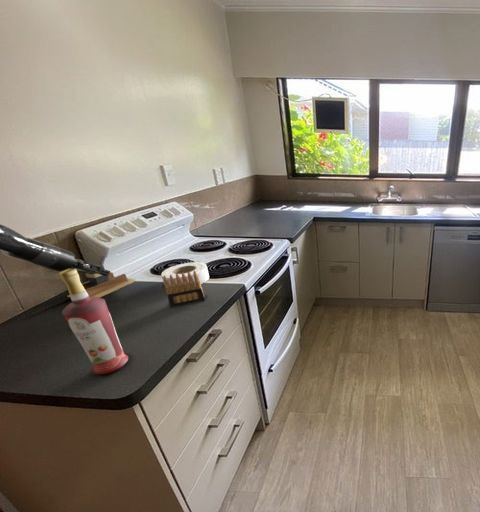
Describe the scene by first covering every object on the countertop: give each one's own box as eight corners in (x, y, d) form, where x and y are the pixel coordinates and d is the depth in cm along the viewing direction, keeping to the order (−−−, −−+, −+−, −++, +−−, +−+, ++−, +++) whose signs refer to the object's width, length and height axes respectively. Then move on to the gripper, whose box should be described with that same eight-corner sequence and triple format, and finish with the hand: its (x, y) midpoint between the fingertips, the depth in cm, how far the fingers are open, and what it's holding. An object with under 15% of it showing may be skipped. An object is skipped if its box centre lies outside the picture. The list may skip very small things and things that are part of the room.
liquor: (137, 356, 79) (98, 263, 68) (119, 376, 72) (72, 277, 61) (107, 359, 78) (62, 265, 67) (86, 380, 71) (32, 279, 60)
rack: (67, 298, 107) (63, 289, 105) (113, 279, 121) (109, 270, 120) (90, 301, 105) (86, 292, 103) (134, 281, 119) (131, 273, 118)
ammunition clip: (205, 298, 107) (197, 269, 103) (205, 300, 106) (197, 271, 101) (171, 305, 103) (161, 275, 98) (170, 307, 101) (160, 277, 97)
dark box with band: (92, 289, 111) (82, 268, 108) (103, 284, 115) (95, 264, 111) (100, 290, 110) (91, 269, 107) (111, 285, 114) (103, 265, 111)
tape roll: (187, 271, 128) (183, 260, 126) (217, 274, 125) (215, 263, 123) (154, 288, 114) (150, 276, 112) (188, 292, 111) (184, 279, 109)
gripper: (71, 248, 97) (119, 265, 112) (40, 245, 100) (90, 262, 114) (59, 269, 94) (109, 283, 109) (27, 265, 97) (80, 280, 112)
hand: (99, 272), depth 112 cm, fingers open, 8 cm apart
